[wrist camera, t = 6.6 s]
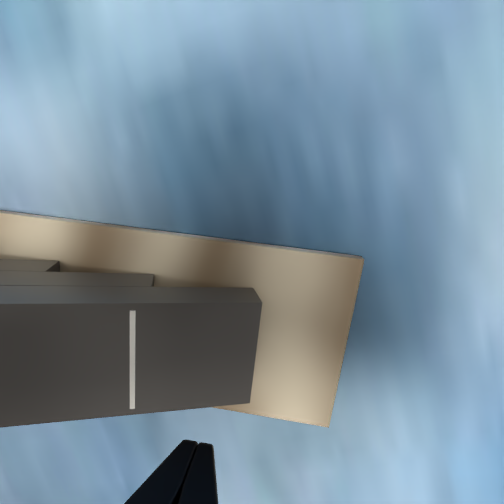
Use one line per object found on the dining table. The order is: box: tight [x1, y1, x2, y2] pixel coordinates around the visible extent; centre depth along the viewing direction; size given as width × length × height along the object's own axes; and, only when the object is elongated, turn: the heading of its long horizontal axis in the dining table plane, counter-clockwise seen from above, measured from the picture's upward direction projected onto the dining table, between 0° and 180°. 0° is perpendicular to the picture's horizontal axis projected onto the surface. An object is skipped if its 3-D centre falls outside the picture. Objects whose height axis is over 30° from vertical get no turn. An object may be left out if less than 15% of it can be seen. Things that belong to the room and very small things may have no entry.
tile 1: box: [0, 286, 262, 427], centre depth 12 cm, size 2×5×10 cm
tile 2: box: [0, 271, 154, 287], centre depth 12 cm, size 2×5×10 cm
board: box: [0, 210, 364, 427], centre depth 15 cm, size 26×9×1 cm, turn 84°
